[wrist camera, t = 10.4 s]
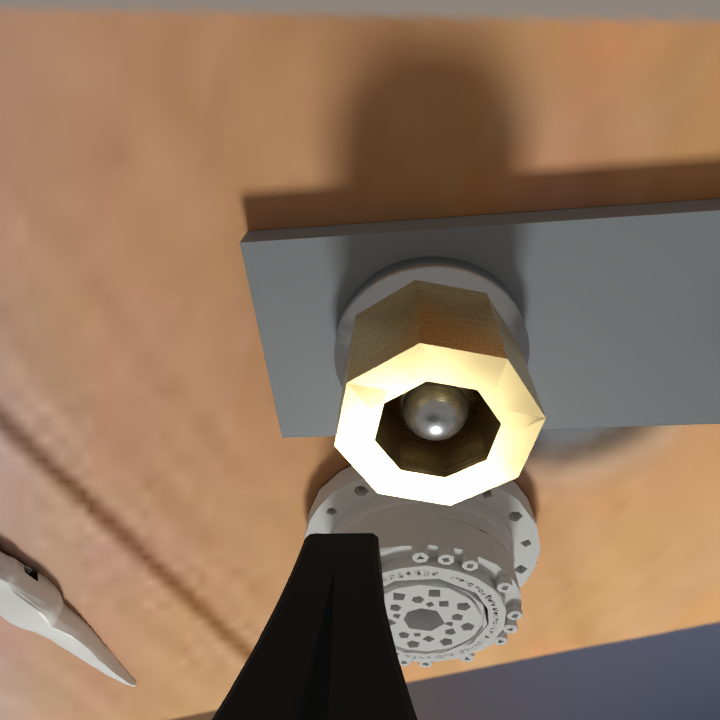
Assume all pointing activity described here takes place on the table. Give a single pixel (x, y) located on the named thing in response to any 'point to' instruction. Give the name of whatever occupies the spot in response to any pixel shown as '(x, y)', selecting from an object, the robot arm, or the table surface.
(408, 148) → the table surface
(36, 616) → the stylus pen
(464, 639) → the mechanical component
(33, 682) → the table surface
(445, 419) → the hub
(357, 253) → the base board
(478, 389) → the collar
